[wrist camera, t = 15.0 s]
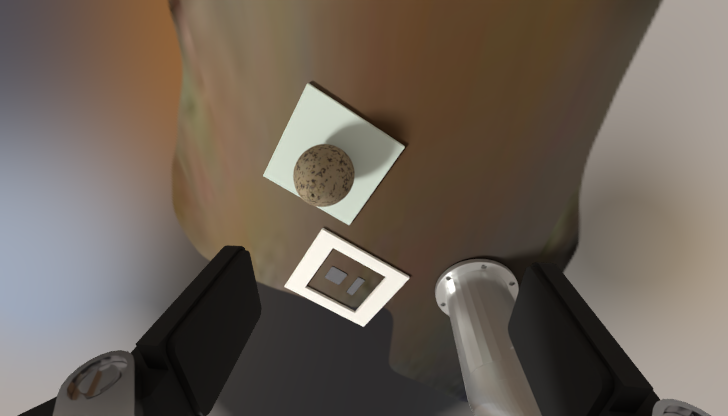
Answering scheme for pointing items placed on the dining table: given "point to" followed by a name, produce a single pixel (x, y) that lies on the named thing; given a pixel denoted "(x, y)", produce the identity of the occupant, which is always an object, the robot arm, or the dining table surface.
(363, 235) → the dining table surface
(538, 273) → the robot arm
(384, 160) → the sage mat
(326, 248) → the white square frame
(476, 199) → the dining table surface
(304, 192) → the decorative egg
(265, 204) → the dining table surface
